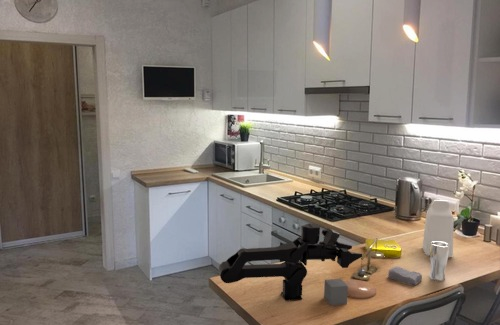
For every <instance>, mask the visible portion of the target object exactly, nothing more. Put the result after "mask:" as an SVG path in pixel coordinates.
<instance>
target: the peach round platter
mask: <svg viewBox="0 0 500 325" xmlns="http://www.w3.org/2000/svg"><path fill="white" fill-rule="evenodd" d="M343 281H344V282H345V283H346V284H347V285H348V293H347V297H350V298H354V299H369V298H373V297H374V296H375V295H376V294H377V287H376V286H375V284H372V283H371V282H368V281H366V280H358V279H348V280H347V279H346V280H343Z"/></svg>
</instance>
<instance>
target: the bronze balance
mask: <svg viewBox="0 0 500 325" xmlns="http://www.w3.org/2000/svg"><path fill="white" fill-rule="evenodd" d="M374 239H375V240H374V242H373V243H372V244H371V246H370V247H368V250H366V251H365V252H364V254H362V257H361V258H360V260H361V263H360V266H361V267H360V268H358V269H357V271H356V272H353V273H352V278H353V279H354V280H361V281H368V280H370V278H371V276H372V275H373V274H374V273H375V272H376V271H377V270H378V266H374V265H371V258H372V259H383V258H385V257H384V254H383V253H381V252H376V251H371V248H372V247H373V246H374V244H375V243H376V249H377V240H378V238H374ZM366 256H367V264H365V265H364V266H363V260H364V259H365V258H366Z"/></svg>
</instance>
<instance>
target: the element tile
mask: <svg viewBox="0 0 500 325" xmlns="http://www.w3.org/2000/svg"><path fill="white" fill-rule="evenodd" d="M375 239H376V238H366V239H365V250H366V251H367V250H368V247H370V246H371V244H372V243H373V242H374V240H375ZM377 239H378V238H377ZM371 251H376V252H381V253H383V254H384V256H385V257H384V258H388V257H401V258H402V248H401V246H400V245H399V244H398V242H397V241H396V240H394V239H383V238H382V239H381V238H379V239H378V240H377V249H376V243H375V244H374V246H373V247H372V248H371Z"/></svg>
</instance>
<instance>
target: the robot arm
mask: <svg viewBox="0 0 500 325" xmlns="http://www.w3.org/2000/svg"><path fill="white" fill-rule="evenodd" d="M300 229H301V236H298V237H297V238H296V239H294V240H292V241H291V242H287V243H283V244H280V245H277V246H272V247H271V246H270V247H257V248H256V247H255V248H254V247H253V248H245V247H242V248H240V249H239V250H237V251H236V253H234V254H232V255H231V256H229V257H228V258H227V259H226V260H225V261H222V262H221V263H219V266H218V273H219V277H220V280H221V281H222V282H223V283H225V284H232V283H237V282H239V281H241V280H243V279H253V278H278V277H280V278H281V277H282V278H284V279H282V291H281V293H280V294H281V295H282V297H283V299H284V300H285V301H296V300H297V301H298V300H303V297H302V296H303V284H302V283H303V281H304V279H305V278H306V277H307V276H308V269H307V267H306V266H308V261H317V260H319V261H321V262H325V261H326V260H331V261H332V262H335V261H336V260H337V261H336V263H337V264H338V265H339V266H340V267H341V269H348V268H349V266H350V265H351V264H353V263H354V262H355V261H358V260H359V259H361V258H362V256H363V253H360V252H352V251H350V250H352V248H353V246H352V245H349V244H347V243H343V242H339V241H338V240H339V238H340V235H341V234H340V233H339V232H338V231H337V230H334V229H332V228H330V227H327V228H326V229H322V231H321V225H320V224H318V223H312V222H311V223H307V224H304V225H301V228H300ZM320 233H321V235H323V240H322V241H320ZM277 260H278V261H282V263H267V264H266V263H264V264H262V263H261V264H246V263H247V262H259V261H277Z"/></svg>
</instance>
